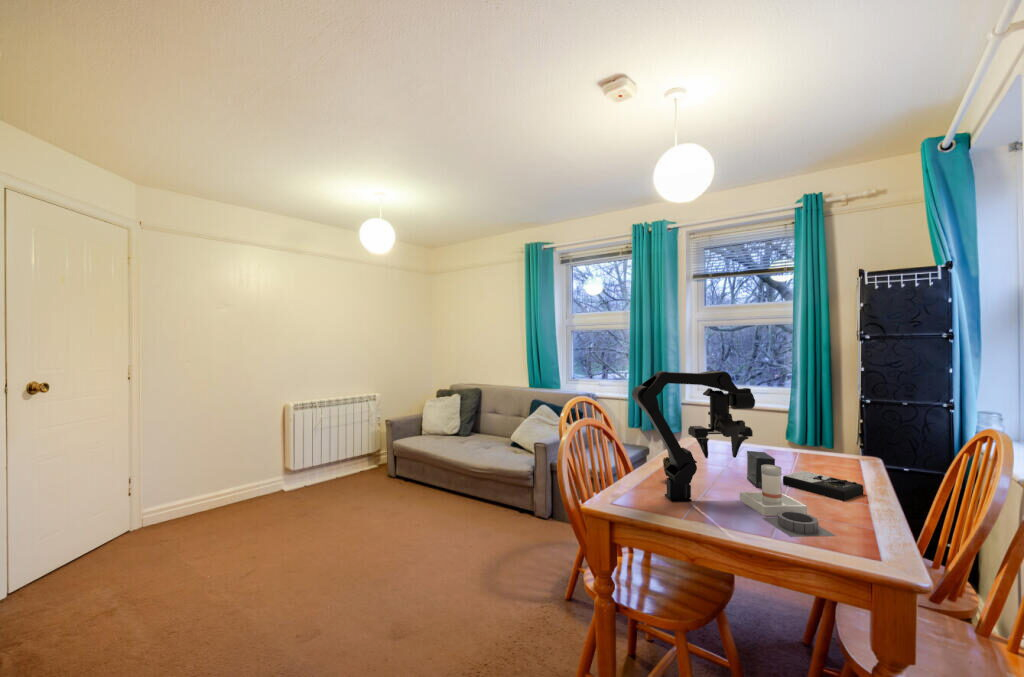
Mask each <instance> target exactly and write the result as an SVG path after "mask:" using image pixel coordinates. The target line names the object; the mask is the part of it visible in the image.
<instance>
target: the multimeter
mask: <svg viewBox="0 0 1024 677" xmlns="http://www.w3.org/2000/svg"><path fill="white" fill-rule="evenodd" d="M782 485H783V486H786V487H789V488H793V489H797V490H801V491H803V492H807V493H808V492H809V493H812V494H816V495H819V496H822V497H823V496H824V497H826V498H830V499H834V500H837V501H840V502H846V501H849V500H851V499H855V498H857V497H861V496H863V495H864V492H865V491H864V485H863V484H861V483H859V482H858V483H857V482H855V481H849V480H847V479H841V478H836V477H833V476H832V477H831V476H828V475H825V474H824V475H823V474H818V473H814V472H810V471H807V470H801V471H797V472H793V473H789V474H785V475H783V476H782Z"/></svg>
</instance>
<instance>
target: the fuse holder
mask: <svg viewBox="0 0 1024 677" xmlns="http://www.w3.org/2000/svg"><path fill="white" fill-rule="evenodd" d="M777 515H778V516H777V517H762V518H761V519H762V520H764V521H765V522H767V523H769V524H771V525H772V526H773V527H775V528H776V529H778V530H780V531H781V532H782V533H784V534H786V535H787V536H788V537H790V538H797V537H799V538H801V537H803V538H807V537H837V535H836V534H834V533H832V532H830V531H829V530H827V529H825V528H823V527H822V526H820V525H819V520H818V518H816V517H815V516H813V515H811V514H808V513H807V514H805V513H802V512H801V513H800V512H796V511H780V512H778V513H777Z"/></svg>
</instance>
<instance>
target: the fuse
mask: <svg viewBox="0 0 1024 677" xmlns="http://www.w3.org/2000/svg"><path fill="white" fill-rule="evenodd" d="M761 473H762V488H761V492H762V504H763V505H765V506H779V505H782V501H781V497H782V467H781V466H779V465H776V464H775V465H761Z"/></svg>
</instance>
